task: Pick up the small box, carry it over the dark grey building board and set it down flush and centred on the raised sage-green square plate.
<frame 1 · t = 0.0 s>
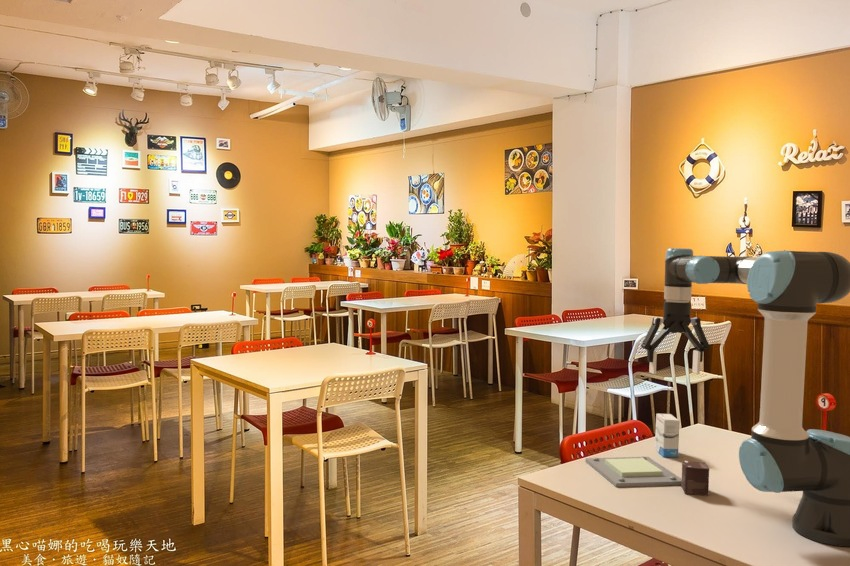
hand: (674, 373, 208), 28 cm above the table, fingers open, 13 cm apart
board: (632, 472, 203), on the table
box: (694, 492, 189), on the table
ink box: (666, 454, 223), on the table
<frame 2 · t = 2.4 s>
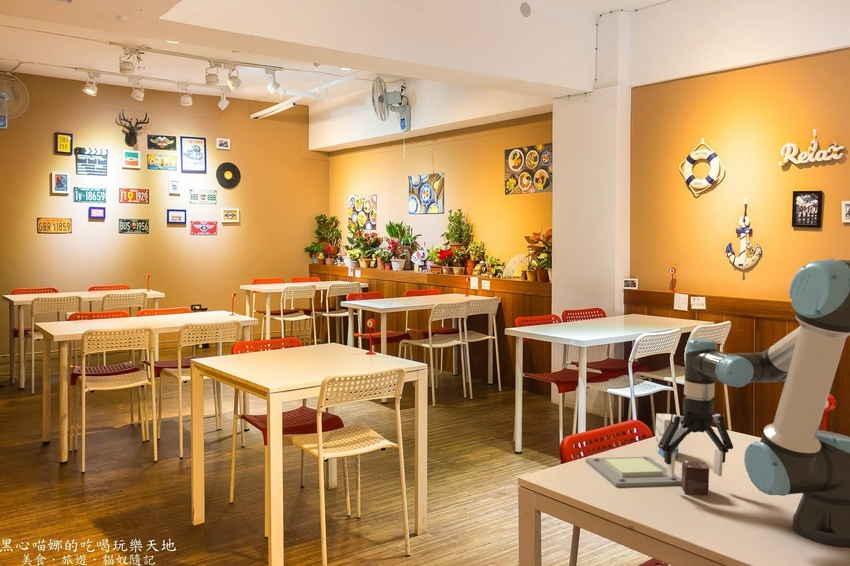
hand: (693, 475, 189), 4 cm above the table, fingers open, 13 cm apart
nothing on the table moved.
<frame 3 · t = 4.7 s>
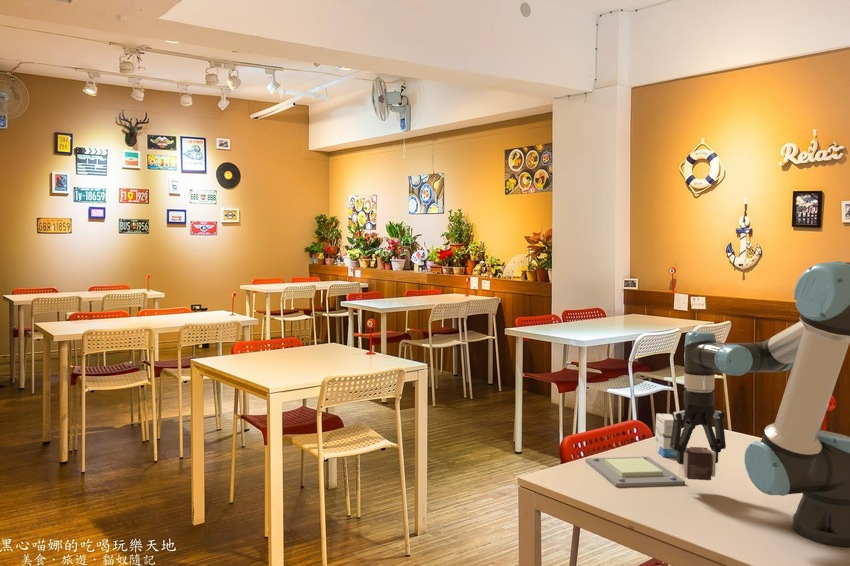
hand: (697, 475, 188), 5 cm above the table, fingers closed on box, 7 cm apart
box: (696, 477, 188), point 4 cm above the table, touching gripper
everything else where it was.
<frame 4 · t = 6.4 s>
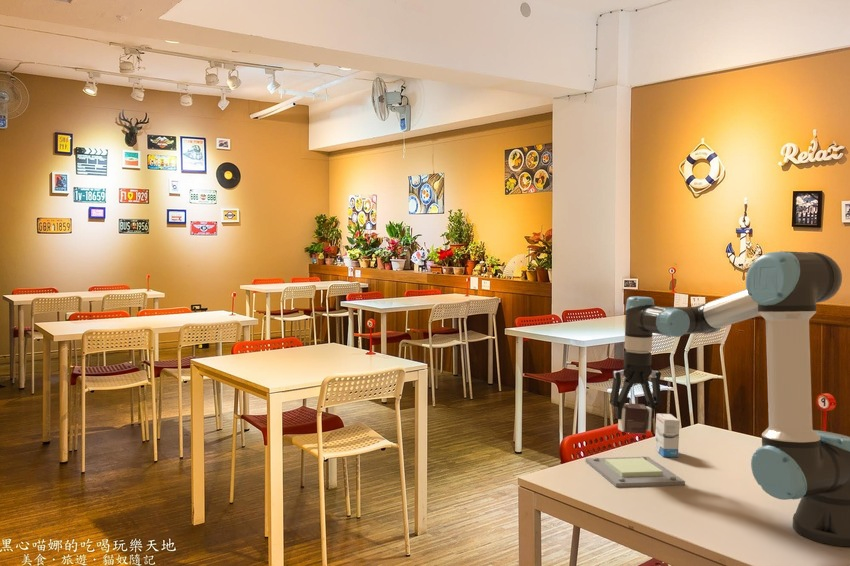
hand: (634, 429, 202), 12 cm above the table, fingers closed on box, 7 cm apart
box: (634, 431, 203), point 12 cm above the table, touching gripper
everything else where it was.
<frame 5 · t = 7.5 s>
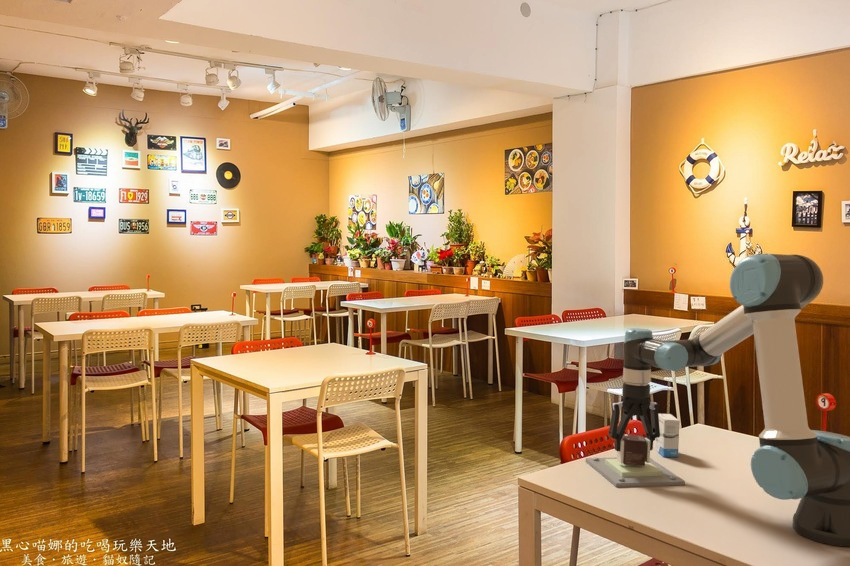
hand: (633, 461, 203), 3 cm above the table, fingers closed on box, 7 cm apart
box: (632, 463, 203), point 3 cm above the table, touching gripper
everything else where it was.
when the fingers open (2 cm above the table, at t = 8.0 s): box stays where it is, resting on board.
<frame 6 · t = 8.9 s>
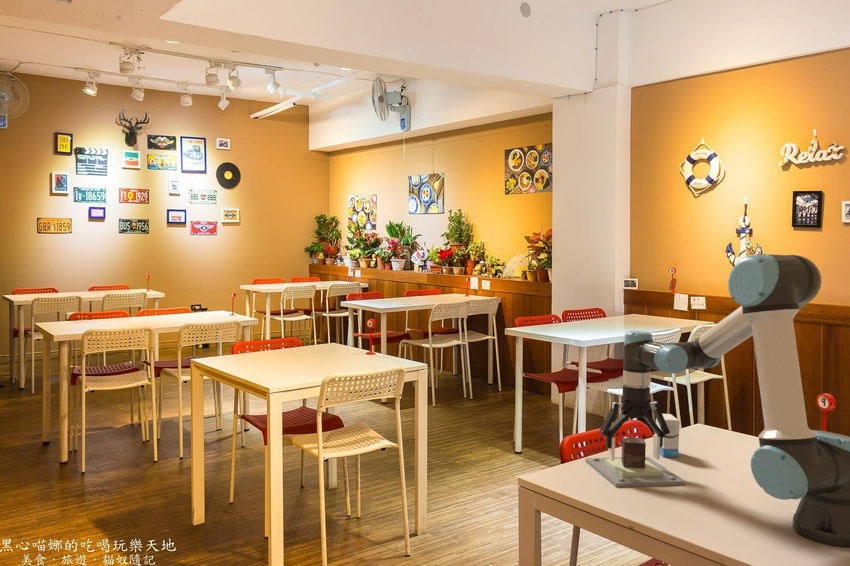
hand: (633, 458, 203), 4 cm above the table, fingers open, 13 cm apart
box: (632, 465, 203), point 2 cm above the table, touching board
everything else where it was.
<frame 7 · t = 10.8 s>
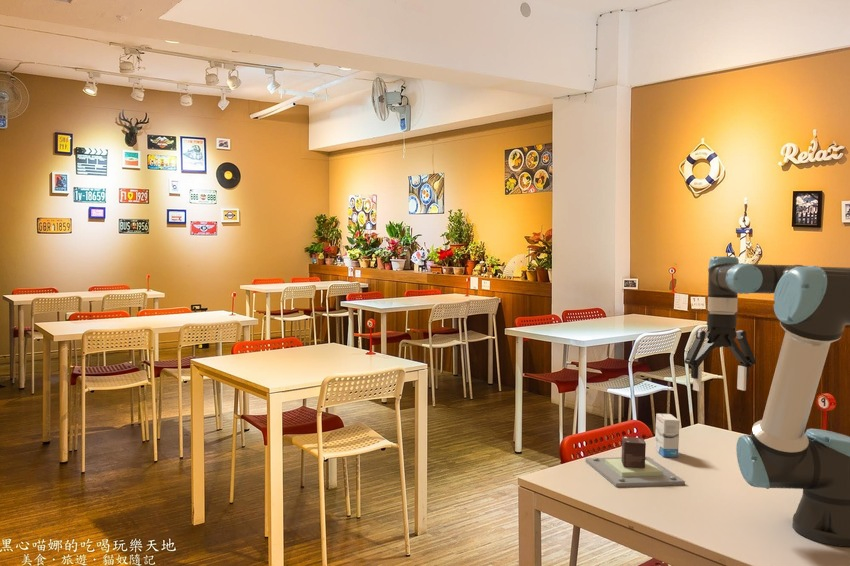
hand: (719, 390, 194), 26 cm above the table, fingers open, 13 cm apart
nothing on the table moved.
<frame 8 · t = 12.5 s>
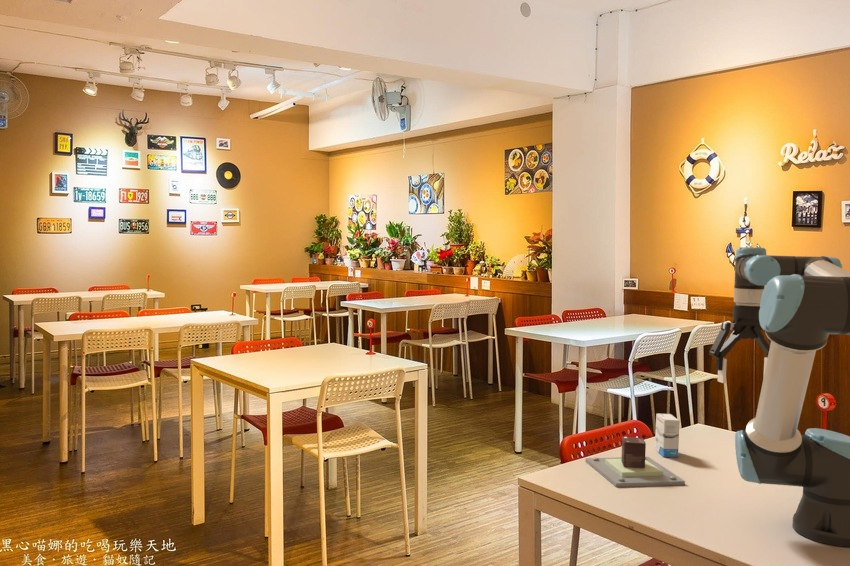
hand: (744, 382, 192), 29 cm above the table, fingers open, 13 cm apart
nothing on the table moved.
at the end: box 0.2 cm off-centre on the board, point 2.0 cm above the board's base; box tilted 0°; the gripper is holding nothing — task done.
